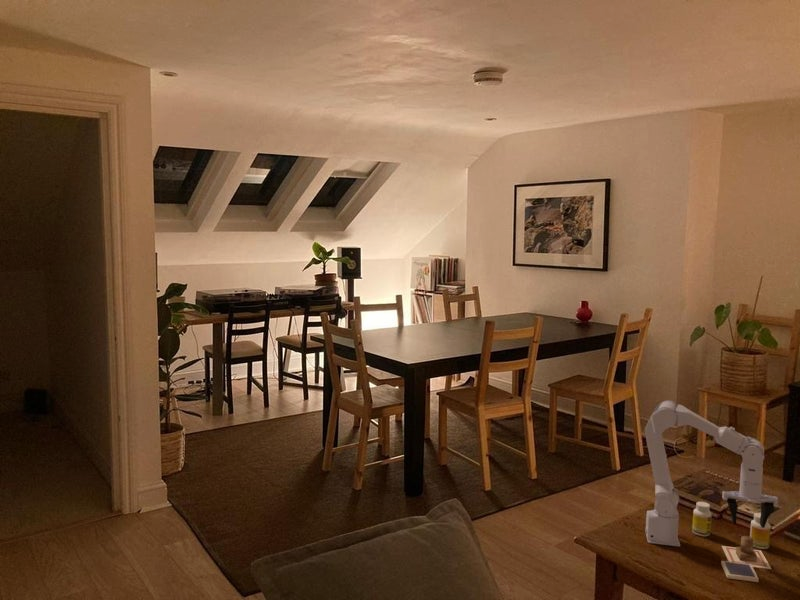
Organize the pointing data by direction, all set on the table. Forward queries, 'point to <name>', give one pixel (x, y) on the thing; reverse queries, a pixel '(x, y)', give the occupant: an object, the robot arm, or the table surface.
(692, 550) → the table surface
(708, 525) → the supplement bottle
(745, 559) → the stamp
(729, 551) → the print sheet
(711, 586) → the table surface
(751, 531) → the supplement bottle
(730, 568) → the ink pad
